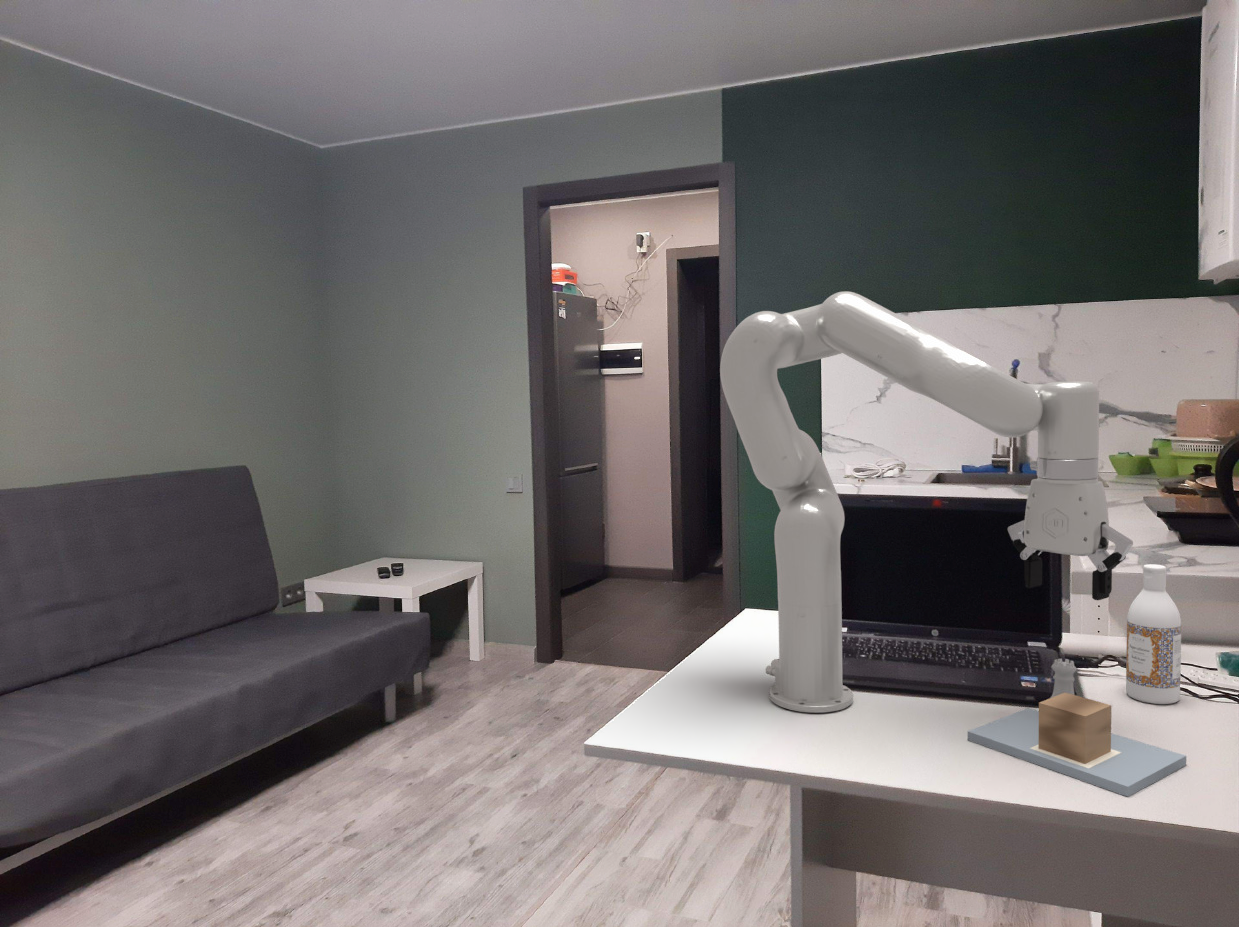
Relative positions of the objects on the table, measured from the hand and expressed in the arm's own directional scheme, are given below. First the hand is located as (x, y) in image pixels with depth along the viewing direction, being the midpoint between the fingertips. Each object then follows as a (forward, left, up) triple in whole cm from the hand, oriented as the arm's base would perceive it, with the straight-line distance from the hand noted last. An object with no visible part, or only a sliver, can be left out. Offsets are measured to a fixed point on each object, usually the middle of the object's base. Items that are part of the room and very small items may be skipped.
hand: (1066, 592), depth 124 cm
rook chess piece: (-1, +1, -18) cm, 19 cm away
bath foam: (+3, +18, -18) cm, 26 cm away
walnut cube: (+8, -12, -17) cm, 22 cm away
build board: (+7, -10, -18) cm, 22 cm away
